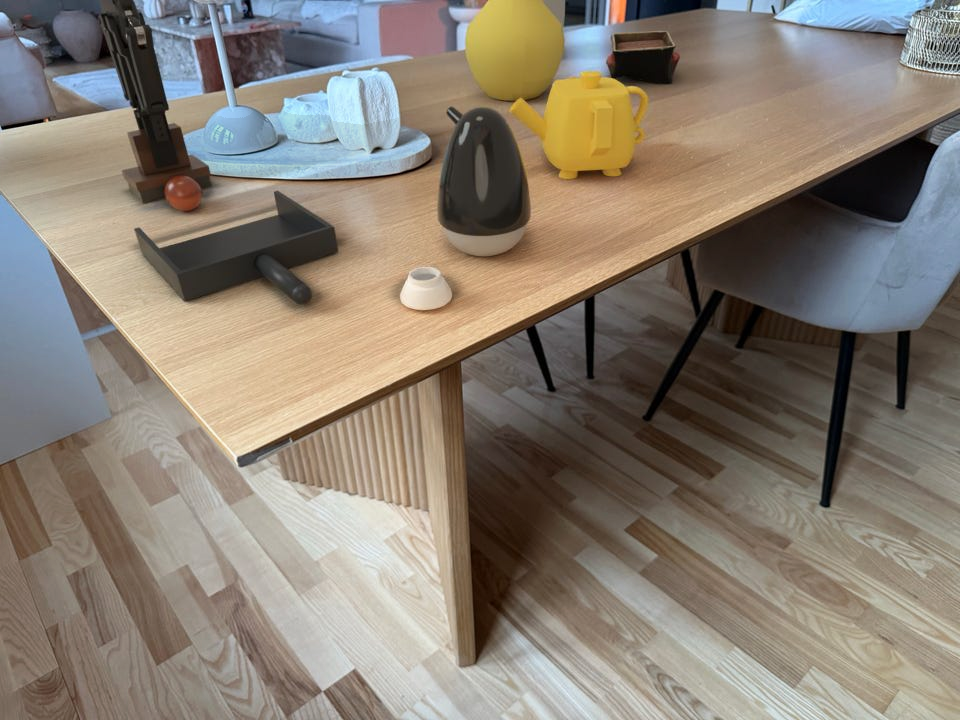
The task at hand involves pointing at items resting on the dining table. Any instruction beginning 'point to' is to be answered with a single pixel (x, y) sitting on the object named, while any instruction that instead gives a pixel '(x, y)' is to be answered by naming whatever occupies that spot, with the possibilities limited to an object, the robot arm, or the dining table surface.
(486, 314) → the dining table surface
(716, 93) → the dining table surface
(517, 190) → the black soy sauce dispenser
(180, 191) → the bead
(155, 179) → the stepped wooden pedestal
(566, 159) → the teapot
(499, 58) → the vase
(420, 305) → the white jar
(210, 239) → the dustpan
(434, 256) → the dining table surface
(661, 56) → the black rectangular planter
